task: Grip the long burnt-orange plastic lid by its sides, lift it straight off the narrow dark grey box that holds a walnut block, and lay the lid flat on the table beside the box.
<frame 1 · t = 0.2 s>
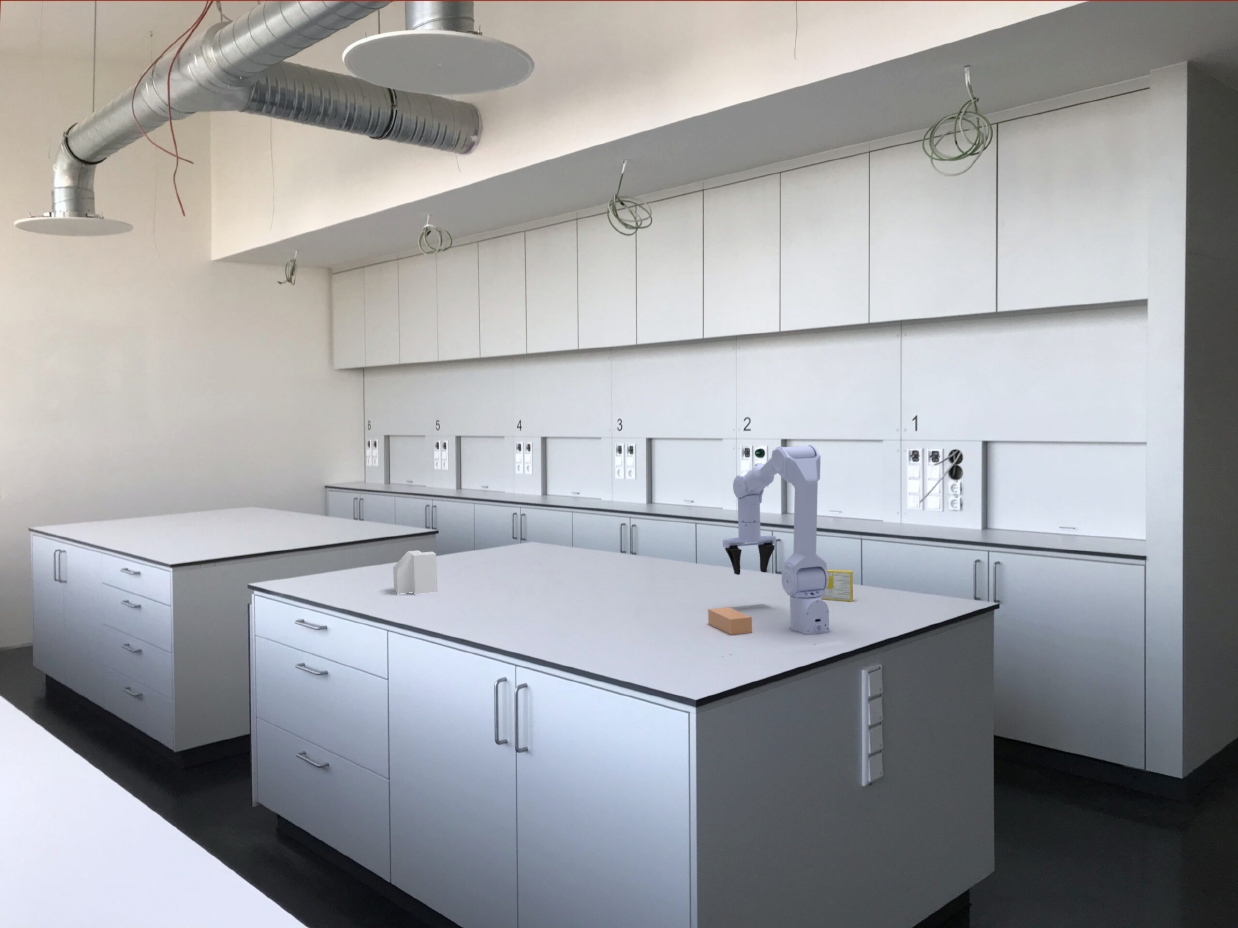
hand: (750, 572, 251), 10 cm above the counter, tool pointing down, fingers open, 7 cm apart
storage box: (729, 632, 228), on the counter
corner bracket: (415, 592, 292), on the counter
walnut block: (729, 630, 228), resting on storage box
candy box: (823, 599, 264), on the counter
lid: (729, 627, 228), point 1 cm above the counter, touching storage box
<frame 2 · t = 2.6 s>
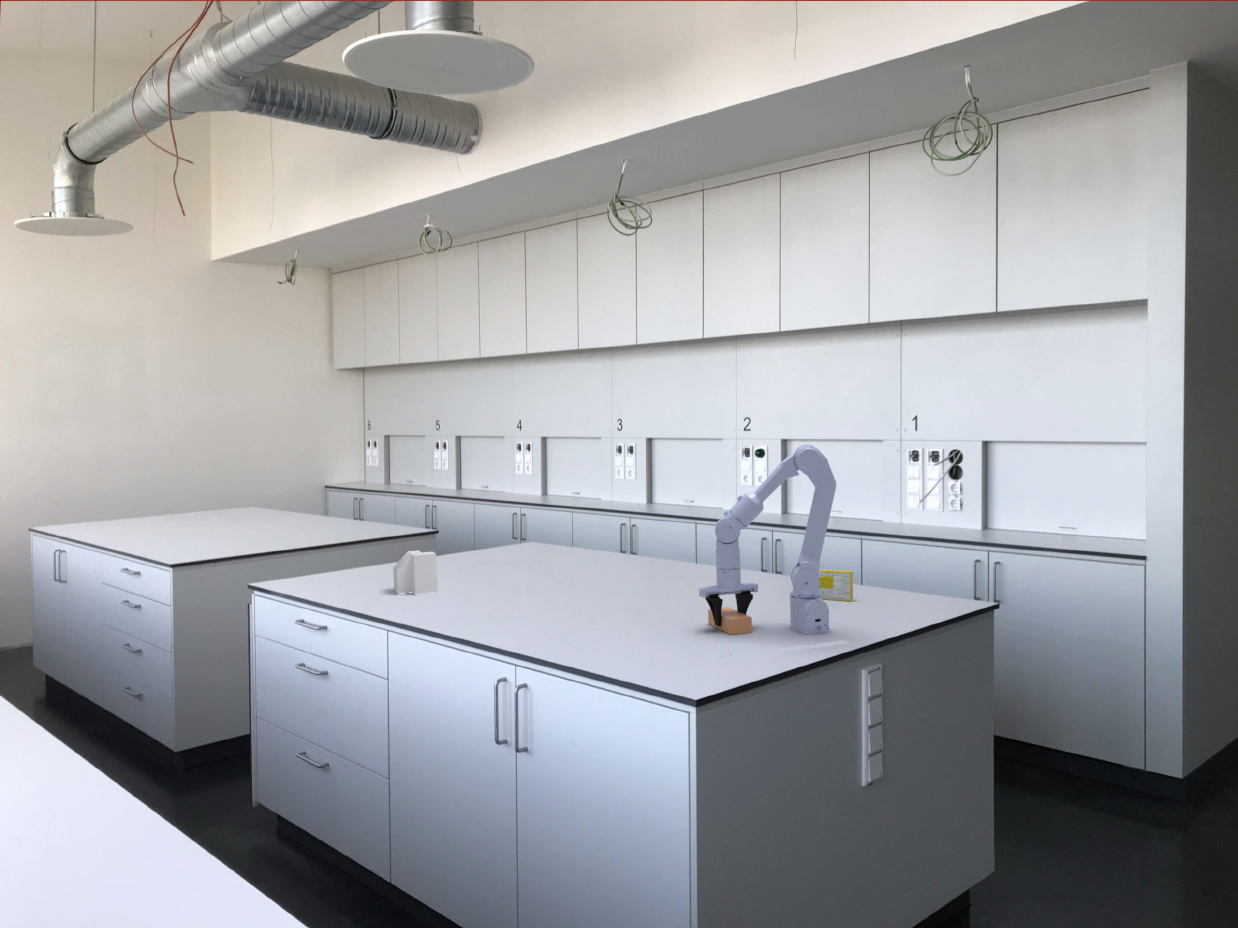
hand: (729, 624, 228), 2 cm above the counter, tool pointing down, fingers closed on lid, 5 cm apart
lid: (729, 627, 228), point 1 cm above the counter, touching gripper, storage box
everything else where it was.
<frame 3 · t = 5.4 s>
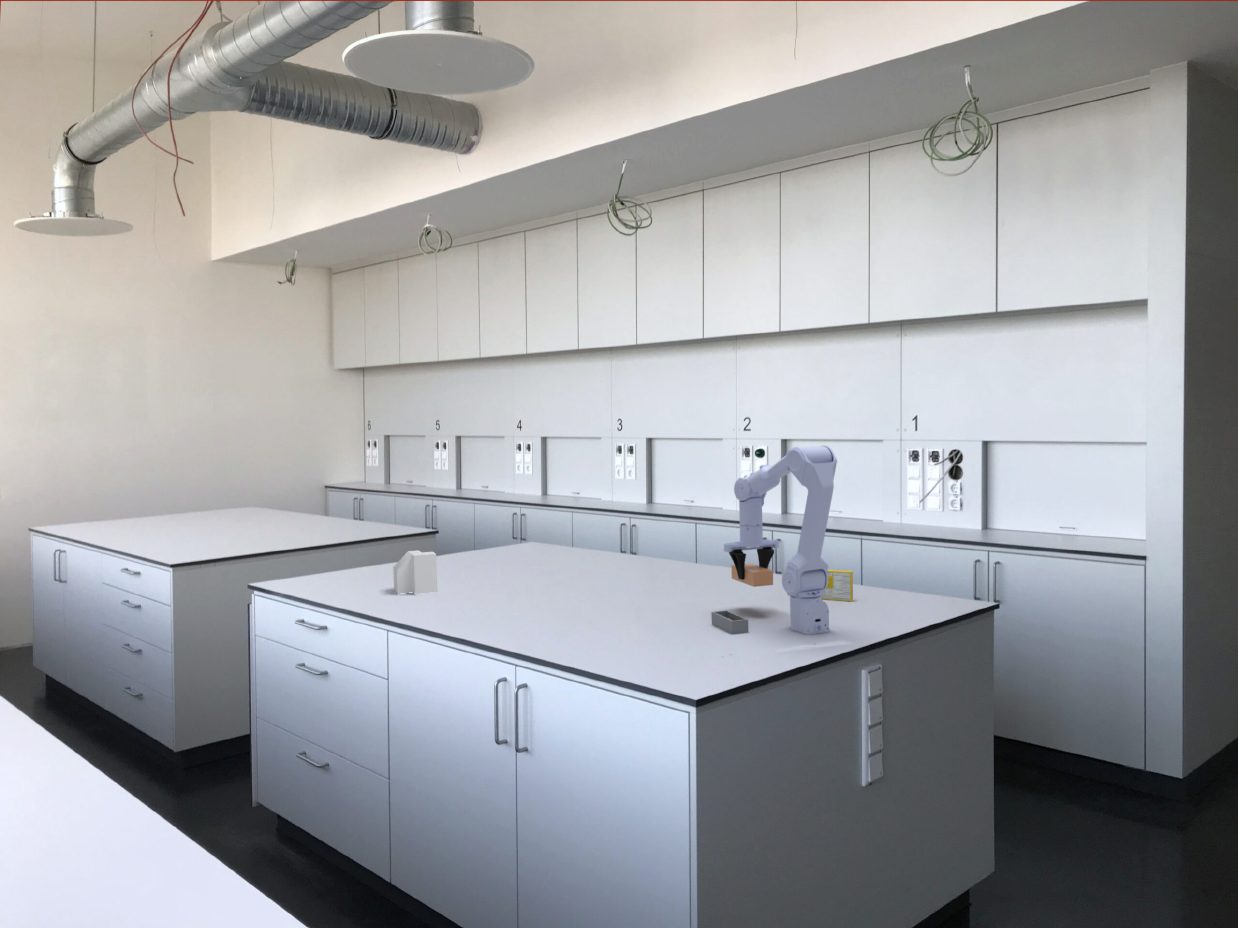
hand: (752, 577, 244), 10 cm above the counter, tool pointing down, fingers closed on lid, 5 cm apart
lid: (752, 581, 244), point 9 cm above the counter, touching gripper
everything else where it was.
when the fingers open (2 cm above the counter, at t = 8.1 s): lid drops 1 cm, on the counter.
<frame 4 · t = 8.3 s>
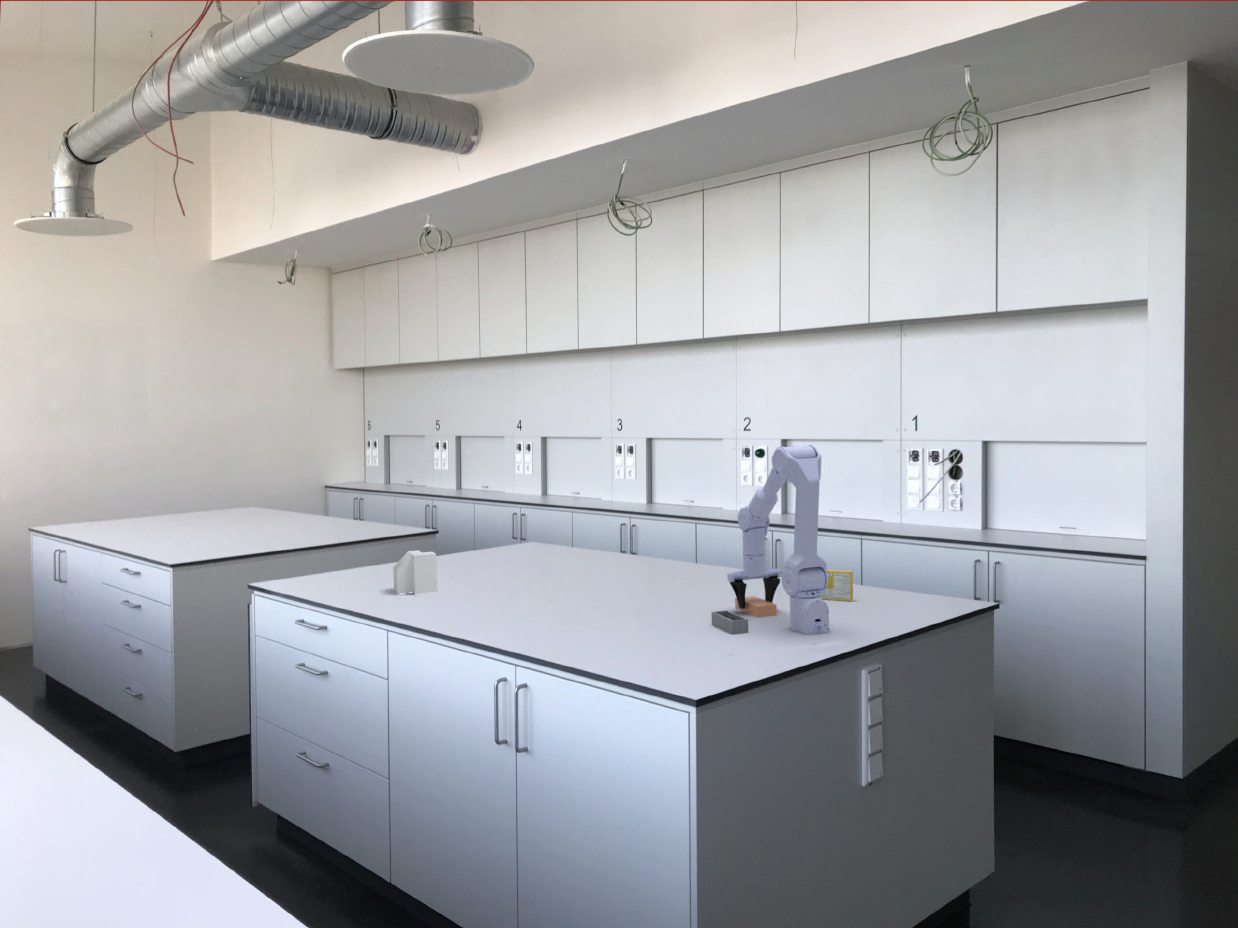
hand: (755, 606, 246), 2 cm above the counter, tool pointing down, fingers open, 7 cm apart
lid: (755, 614, 246), on the counter
everything else where it was.
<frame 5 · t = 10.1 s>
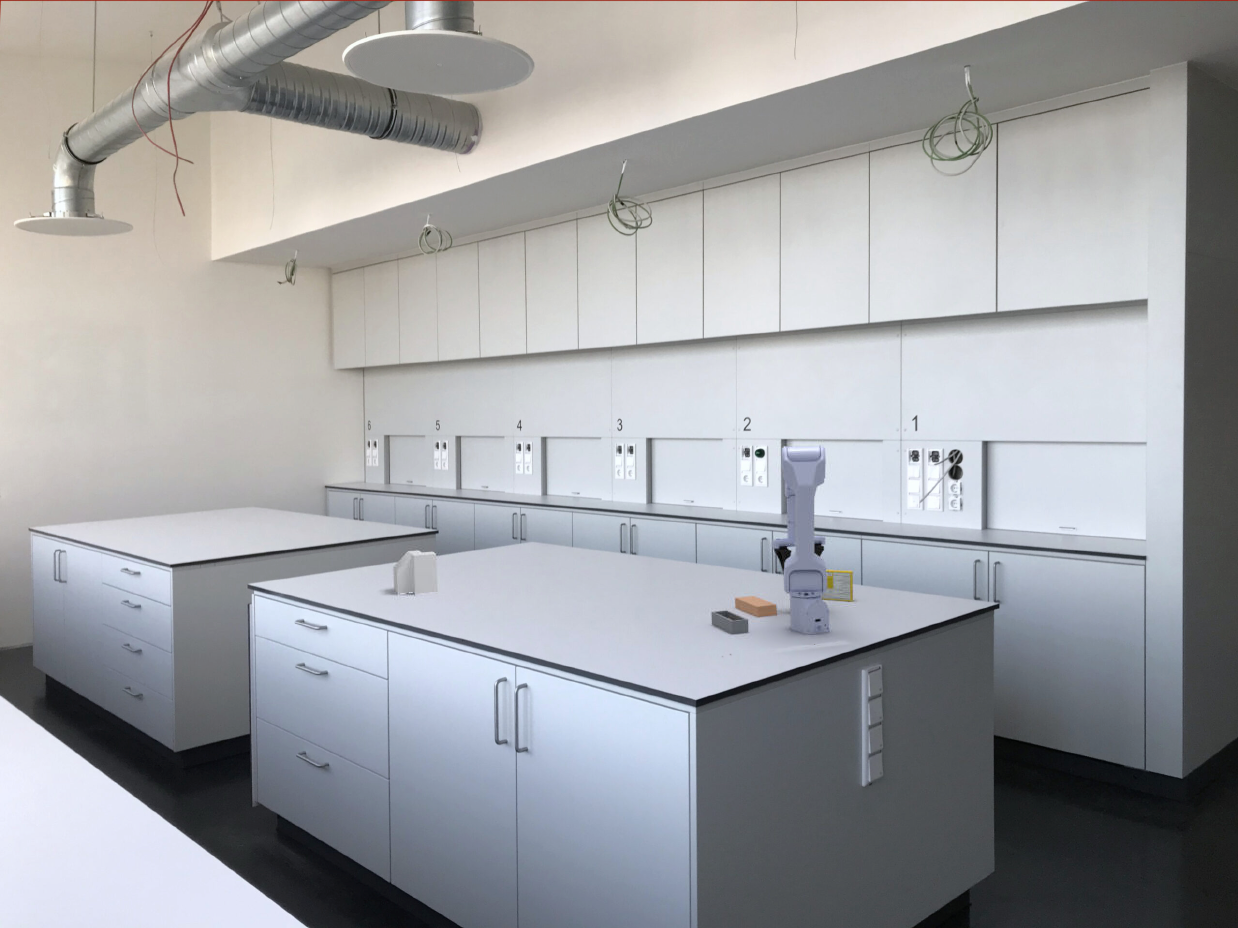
hand: (799, 574, 247), 10 cm above the counter, tool pointing down, fingers open, 7 cm apart
nothing on the counter moved.
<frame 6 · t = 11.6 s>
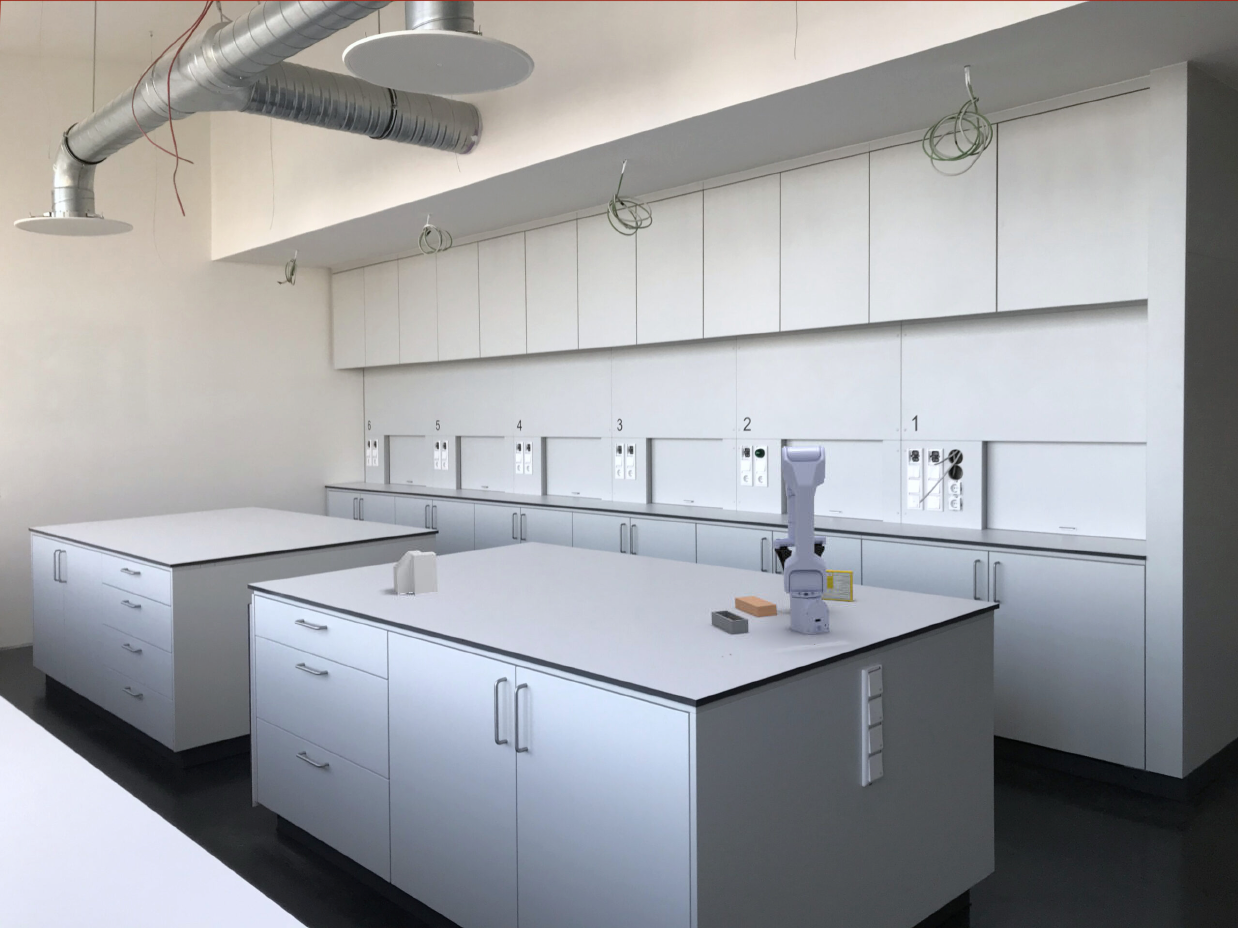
hand: (800, 574, 247), 10 cm above the counter, tool pointing down, fingers open, 7 cm apart
nothing on the counter moved.
at the end: lid inside the target area (0.1 cm from its centre), on the counter; lid tilted 0°; the gripper is holding nothing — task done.
